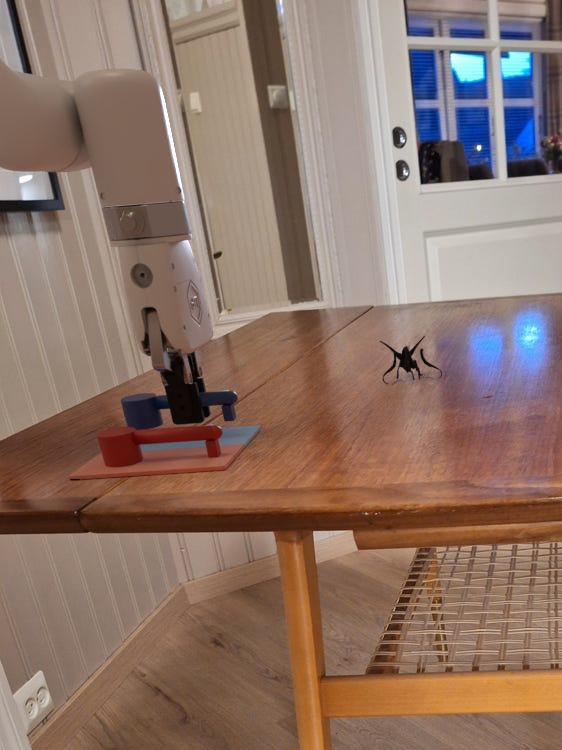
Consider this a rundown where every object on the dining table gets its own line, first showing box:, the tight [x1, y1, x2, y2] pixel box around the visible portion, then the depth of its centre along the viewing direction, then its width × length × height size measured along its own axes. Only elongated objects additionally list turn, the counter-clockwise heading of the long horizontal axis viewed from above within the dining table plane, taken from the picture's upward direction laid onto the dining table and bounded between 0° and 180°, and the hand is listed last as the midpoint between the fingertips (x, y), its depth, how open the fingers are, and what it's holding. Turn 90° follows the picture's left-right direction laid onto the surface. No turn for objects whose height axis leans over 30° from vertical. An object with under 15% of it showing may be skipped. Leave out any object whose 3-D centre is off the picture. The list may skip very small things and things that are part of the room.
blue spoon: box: [119, 389, 239, 430], centre depth 90 cm, size 12×4×3 cm, turn 90°
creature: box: [379, 335, 443, 385], centre depth 112 cm, size 8×5×8 cm
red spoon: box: [96, 424, 223, 467], centre depth 84 cm, size 12×4×3 cm, turn 90°
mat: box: [68, 425, 262, 480], centre depth 88 cm, size 15×15×1 cm
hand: (192, 419), depth 90 cm, fingers closed on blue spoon, 1 cm apart
